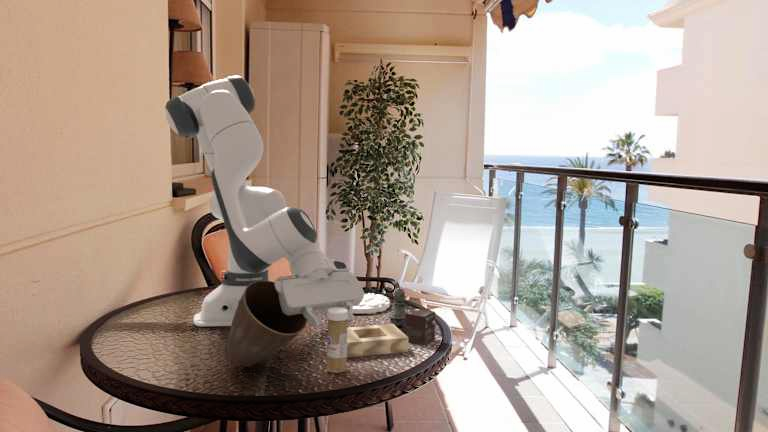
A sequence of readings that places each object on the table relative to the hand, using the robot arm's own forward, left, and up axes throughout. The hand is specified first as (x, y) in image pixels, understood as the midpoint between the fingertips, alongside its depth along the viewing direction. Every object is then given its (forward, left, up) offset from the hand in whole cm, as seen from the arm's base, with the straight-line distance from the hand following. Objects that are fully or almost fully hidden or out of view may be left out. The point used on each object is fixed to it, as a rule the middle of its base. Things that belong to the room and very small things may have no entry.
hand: (334, 324), depth 113 cm
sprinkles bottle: (0, -1, -10) cm, 10 cm away
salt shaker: (+23, +25, -10) cm, 36 cm away
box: (+25, +14, -10) cm, 31 cm away
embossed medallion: (+18, +51, -10) cm, 55 cm away
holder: (+11, +12, -10) cm, 19 cm away
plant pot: (-20, +8, -7) cm, 23 cm away
